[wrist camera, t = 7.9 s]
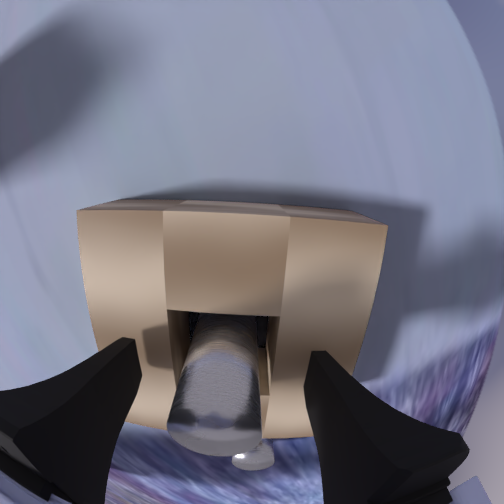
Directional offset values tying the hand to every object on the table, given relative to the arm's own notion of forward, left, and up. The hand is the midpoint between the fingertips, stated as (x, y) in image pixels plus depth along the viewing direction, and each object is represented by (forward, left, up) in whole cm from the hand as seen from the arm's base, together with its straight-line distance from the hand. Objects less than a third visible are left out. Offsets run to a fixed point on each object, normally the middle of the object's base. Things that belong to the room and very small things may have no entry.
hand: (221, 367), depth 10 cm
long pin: (0, 0, -5) cm, 5 cm away
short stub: (-11, -2, -5) cm, 12 cm away
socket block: (0, 0, -5) cm, 5 cm away
